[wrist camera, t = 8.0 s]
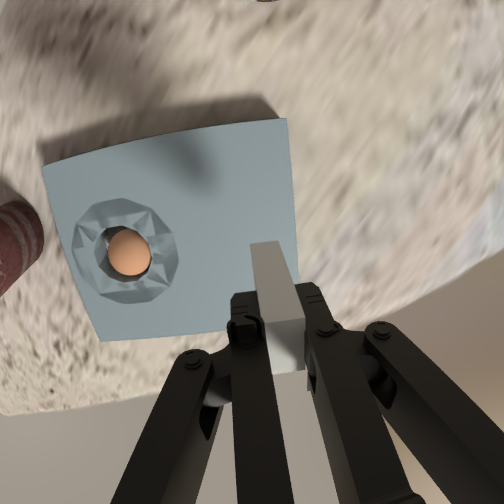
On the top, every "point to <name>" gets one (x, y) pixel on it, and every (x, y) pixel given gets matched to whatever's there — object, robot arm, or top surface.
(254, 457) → the robot arm
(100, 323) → the board
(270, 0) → the supplement bottle
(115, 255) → the ball
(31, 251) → the can
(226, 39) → the top surface
